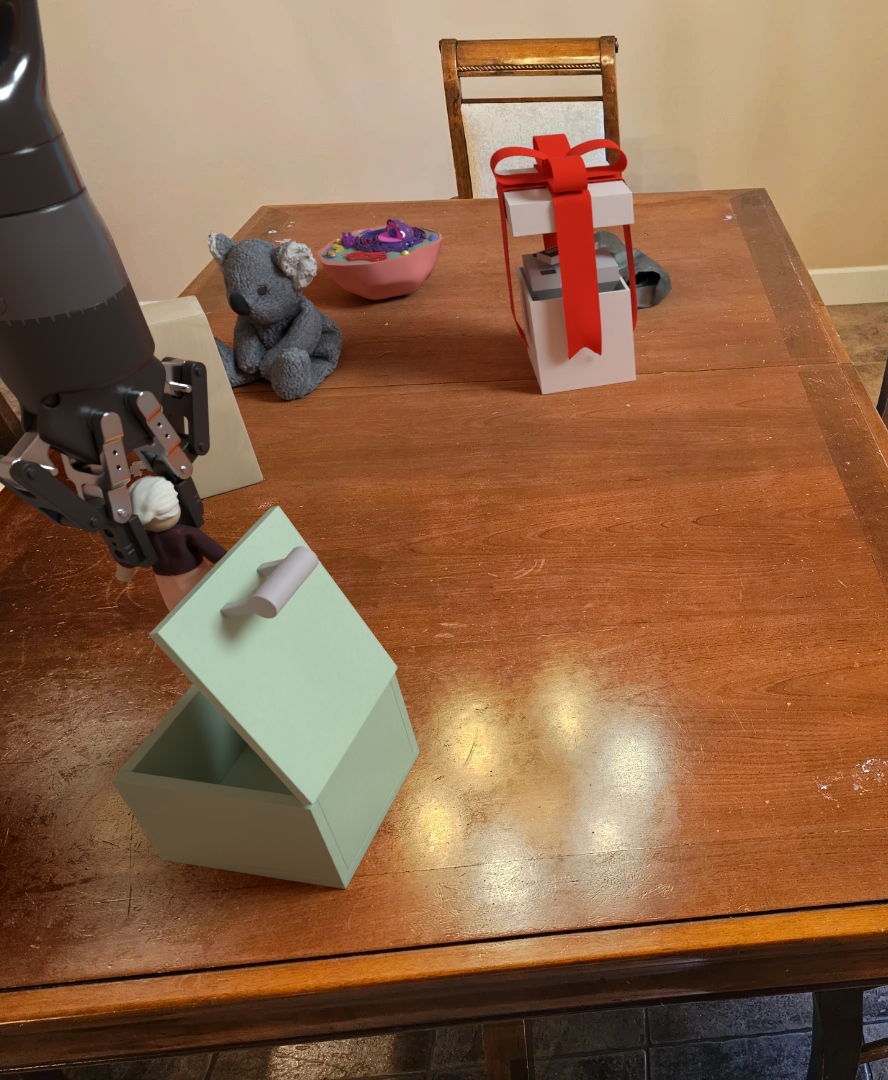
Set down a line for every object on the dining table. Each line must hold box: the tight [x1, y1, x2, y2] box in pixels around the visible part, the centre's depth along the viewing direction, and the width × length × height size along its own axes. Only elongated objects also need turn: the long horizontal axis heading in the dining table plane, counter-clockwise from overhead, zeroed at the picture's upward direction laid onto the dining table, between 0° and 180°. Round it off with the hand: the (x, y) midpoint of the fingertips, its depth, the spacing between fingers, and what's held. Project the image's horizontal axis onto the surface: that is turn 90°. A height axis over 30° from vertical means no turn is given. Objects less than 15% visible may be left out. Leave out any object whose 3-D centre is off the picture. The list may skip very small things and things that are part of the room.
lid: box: [148, 505, 398, 805], centre depth 61 cm, size 16×13×5 cm
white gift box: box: [489, 133, 638, 395], centre depth 124 cm, size 17×17×30 cm
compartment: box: [110, 672, 421, 890], centre depth 70 cm, size 15×13×9 cm
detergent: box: [594, 229, 672, 310], centre depth 155 cm, size 13×7×25 cm
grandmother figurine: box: [113, 474, 228, 613], centre depth 60 cm, size 8×4×13 cm, turn 106°
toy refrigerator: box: [139, 294, 264, 500], centre depth 104 cm, size 8×7×21 cm
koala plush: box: [206, 229, 344, 401], centre depth 127 cm, size 17×18×20 cm
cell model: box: [316, 218, 443, 301], centre depth 151 cm, size 17×20×11 cm
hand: (165, 543), depth 59 cm, fingers closed on grandmother figurine, 3 cm apart
